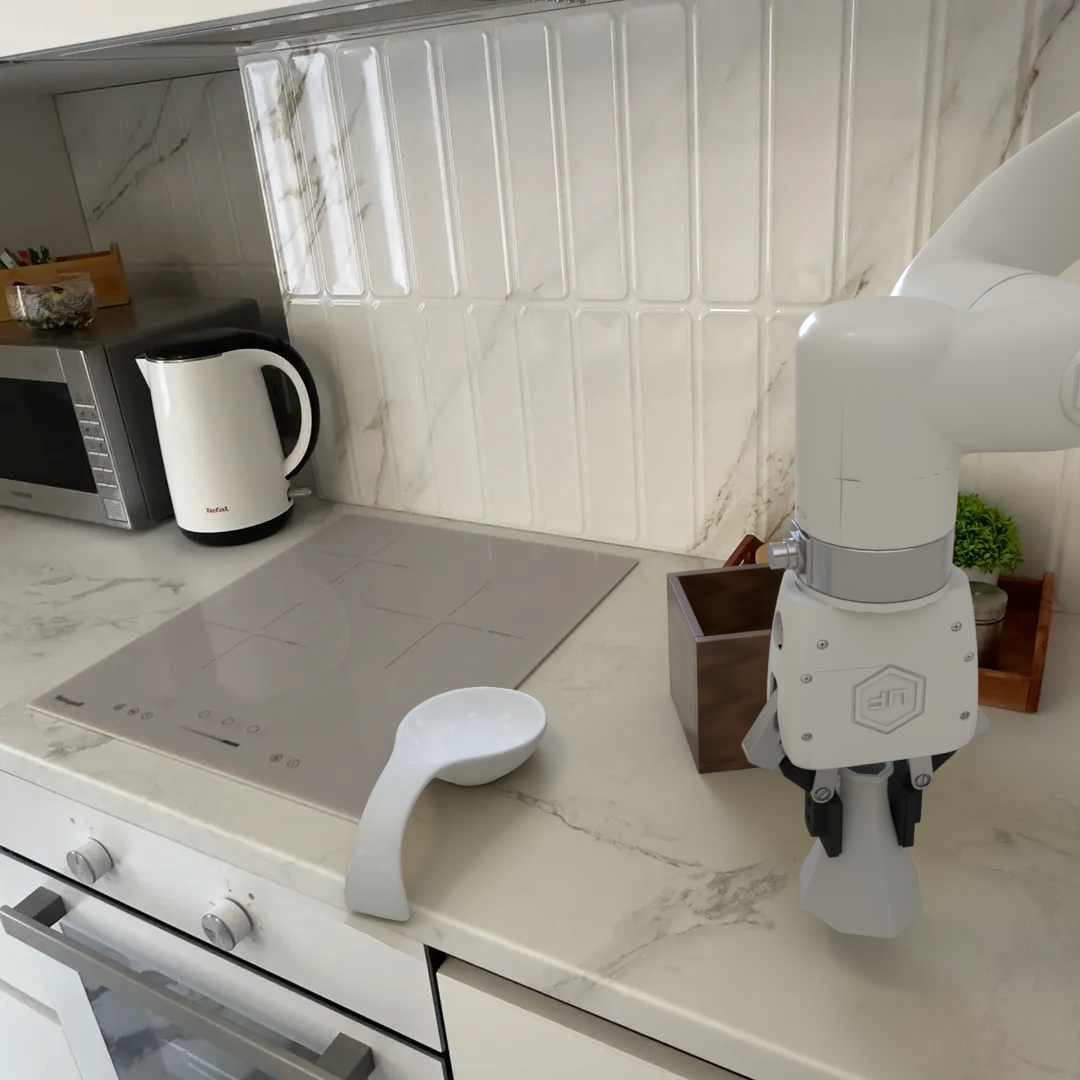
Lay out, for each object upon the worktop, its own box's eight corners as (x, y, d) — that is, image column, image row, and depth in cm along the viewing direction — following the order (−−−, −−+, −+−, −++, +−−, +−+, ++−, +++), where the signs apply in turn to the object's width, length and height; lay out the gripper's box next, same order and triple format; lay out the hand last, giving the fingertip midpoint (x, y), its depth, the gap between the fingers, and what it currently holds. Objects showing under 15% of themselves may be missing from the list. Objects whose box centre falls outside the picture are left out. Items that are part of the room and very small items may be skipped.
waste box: (698, 773, 76) (696, 642, 71) (669, 691, 86) (666, 572, 82) (876, 753, 76) (886, 622, 71) (826, 674, 87) (832, 555, 82)
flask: (936, 873, 59) (947, 738, 55) (906, 959, 54) (915, 818, 50) (818, 837, 63) (820, 708, 59) (779, 914, 58) (778, 779, 53)
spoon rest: (441, 710, 87) (431, 641, 84) (568, 726, 83) (562, 654, 80) (303, 907, 66) (283, 824, 63) (462, 939, 63) (448, 853, 60)
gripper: (727, 608, 45) (737, 903, 53) (1076, 563, 46) (1035, 862, 53) (693, 542, 52) (705, 812, 60) (996, 502, 53) (970, 776, 60)
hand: (861, 833), depth 56 cm, fingers closed on flask, 3 cm apart
